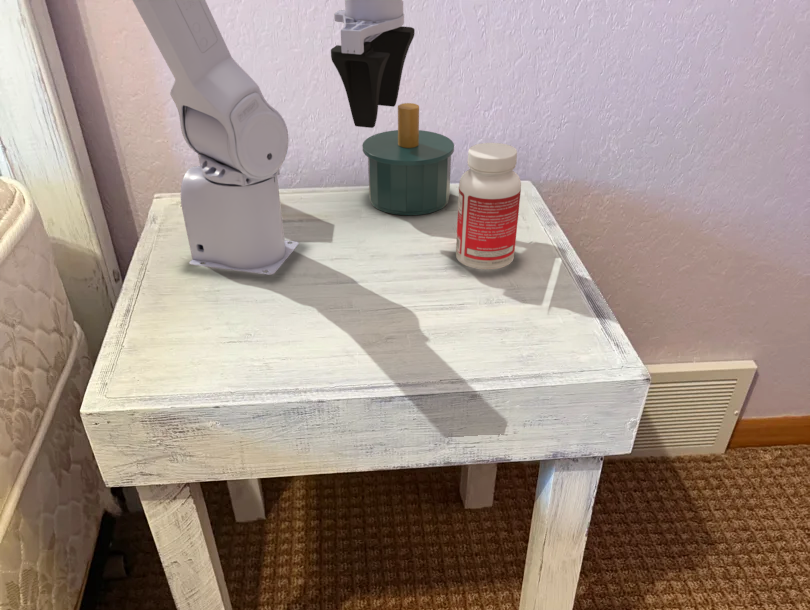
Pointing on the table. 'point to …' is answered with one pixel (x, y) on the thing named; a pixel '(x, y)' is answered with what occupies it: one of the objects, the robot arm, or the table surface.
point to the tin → (409, 187)
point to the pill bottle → (488, 207)
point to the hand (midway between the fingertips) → (375, 115)
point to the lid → (408, 142)
